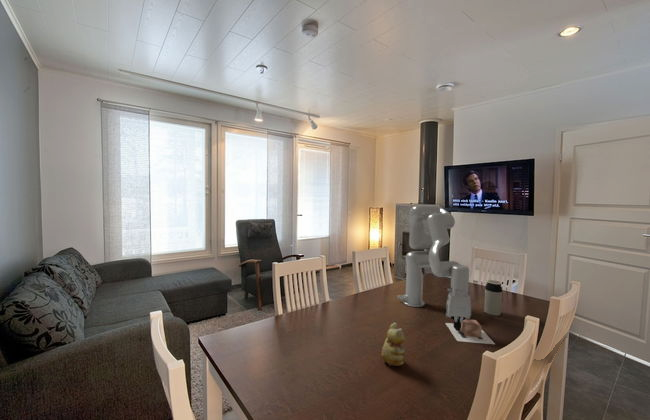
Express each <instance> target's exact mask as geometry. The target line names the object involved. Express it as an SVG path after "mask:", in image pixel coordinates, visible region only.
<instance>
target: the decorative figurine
mask: <svg viewBox="0 0 650 420" xmlns="http://www.w3.org/2000/svg"><path fill="white" fill-rule="evenodd" d="M405 340H406V338H405V334H404V333H403V329H402V328H398V324H397V322H393V323H391V324H390V325H389V327H388V330H387V332H386V338H385V340H384V342H383V346H382V348H381V360H382V361H384V362H385V363H387V364H388V366H394V367H395V366H396V367H398V366H403V365H404V355H405V353H406V350H405V348H403V347H402V344H403V343H404V342H405Z"/></svg>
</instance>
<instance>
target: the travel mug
mask: <svg viewBox="0 0 650 420" xmlns="http://www.w3.org/2000/svg"><path fill="white" fill-rule="evenodd" d="M502 284H503V282H502V281H499V280H496V279H487V280H486V284H485V289H484V290H485V291H484V294H485V295H484V304H483V305H484V306H483V307H484V308H483V311H484V312H485V314H488V315H490V316H495V317H496V316H500V315H501V312H502V300H503V299H502V296H503V287H502Z"/></svg>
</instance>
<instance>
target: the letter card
mask: <svg viewBox="0 0 650 420" xmlns="http://www.w3.org/2000/svg"><path fill="white" fill-rule="evenodd" d="M445 325H446V327H447V328H448V329H449V331H450V332H451V334H452V335H453V337H454V339H455V340H456V341H457V342H464V343H474V344H475V343H476V344H486V345H496V343H495V342H494V341H493V340H492V339H491V337H489V335H488V334H487V333H486V332H485V331H484V330H483V329H482V331H481V337H471V336H465V335H464V334H463V332H462V331H461V330H460V331H456V329H455V328H454V326H453V325H454V322H453V323H452V322H451V323H450V322H445Z"/></svg>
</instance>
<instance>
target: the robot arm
mask: <svg viewBox="0 0 650 420" xmlns="http://www.w3.org/2000/svg"><path fill="white" fill-rule="evenodd" d="M408 220H409V236H408V237H409V240H408V245H409V247H410V249H413V250H415V251H409V252H407V253H406V255H405V267H406V275H405V277H406V279H405V293H404V294H403V295H401V294H398V295H397V299H400V300H402V303H403V304H404V305H405V306H409V307H413V308H422V307H424V306H425V301H424V300H423V285H424V273H423V271H422V270H421V268H429V267H430V270H431V272H432V274H433V275H434V276H435V277H436V278H447V277H448V278H450V286H449V287H448V288H446V289H447V292H448V295H447V299H446V304H445V305H446V306H445V311H446V313H445V316H446V317H448V318H451V319H452V320H453V324H454V325H453V326H454V328H455V329H456V331H460V328H461V323H462V322H463V320H465V319H469V320H470V319H471V316H472V302H471V296H470V295H469V281H470V268H469V267H468V266H466V265H464V264H463V265H462V264H460V263H459V262H457V261H454V260H453V261H450V260H449V261H448V260H445V261H444V260H443V261H440V260H441V259H440V257H439V255H440V254H439V251H440V249H441V247H443V246H445V245H447V244H449V243H450V241H451V237H450V236H449V232H448V229H452V228H454V227H455V224H456V220H455V218H454V216H453V214H451V212H449V211H448V210H446V209H445V208H443V207H442V206H438V205H425V204H424V205H423V204H422V205H419V204H418V205H414V206H412V207H410V210H409V213H408ZM424 221H426V223H427V225H428V226H427V227H428V229H429V232H427V233H426V226H425V222H424ZM457 317H458V319H457Z"/></svg>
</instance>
